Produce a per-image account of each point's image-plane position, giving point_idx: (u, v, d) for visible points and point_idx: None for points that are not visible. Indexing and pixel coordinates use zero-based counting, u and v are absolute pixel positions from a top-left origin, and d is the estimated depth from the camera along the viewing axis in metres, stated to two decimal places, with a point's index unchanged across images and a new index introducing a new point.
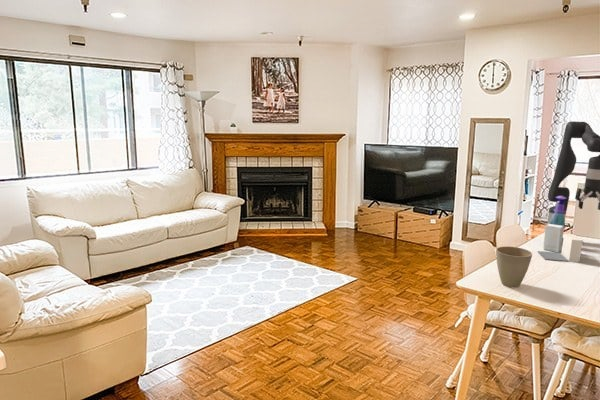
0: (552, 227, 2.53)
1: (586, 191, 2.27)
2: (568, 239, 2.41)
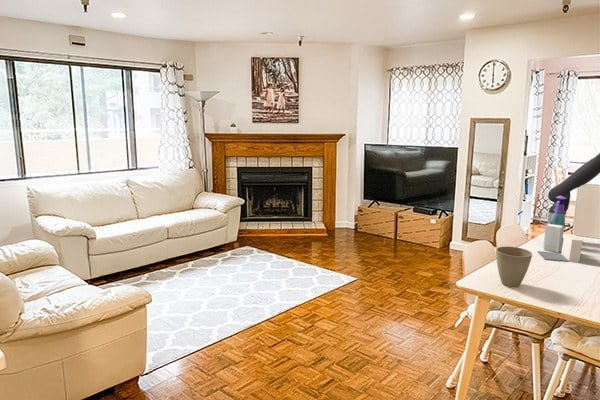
0: (552, 227, 2.53)
1: None
2: (568, 239, 2.41)
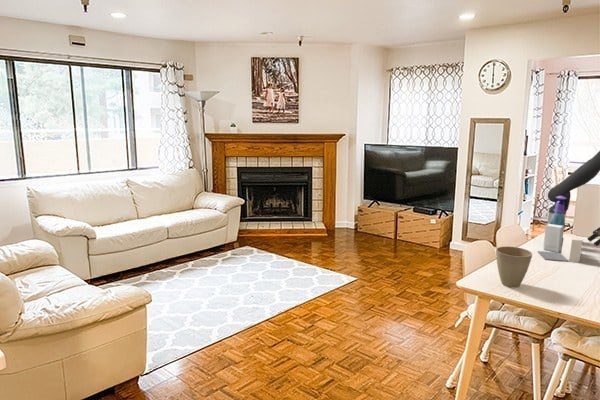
0: (552, 227, 2.53)
1: None
2: (568, 239, 2.41)
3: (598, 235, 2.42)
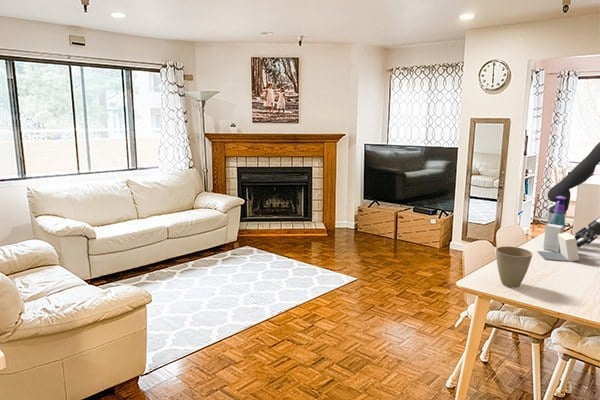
0: (552, 227, 2.53)
1: None
2: (562, 239, 2.42)
3: (580, 236, 2.44)
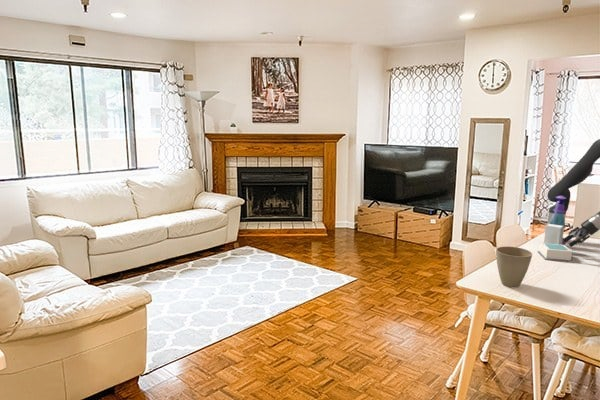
0: (552, 227, 2.53)
1: None
2: None
3: (573, 236, 2.45)
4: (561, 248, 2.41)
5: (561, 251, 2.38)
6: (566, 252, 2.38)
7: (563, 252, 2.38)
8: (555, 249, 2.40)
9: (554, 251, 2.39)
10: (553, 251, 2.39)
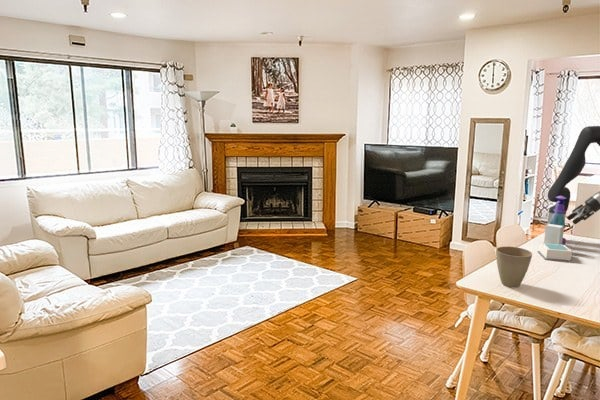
0: (552, 227, 2.53)
1: None
2: None
3: (577, 214, 2.42)
4: (561, 248, 2.41)
5: (561, 251, 2.38)
6: (566, 252, 2.38)
7: (563, 252, 2.38)
8: (555, 249, 2.40)
9: (554, 251, 2.39)
10: (553, 251, 2.39)
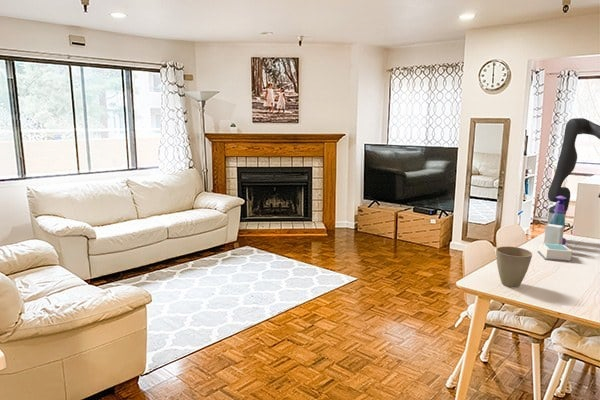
0: (552, 227, 2.53)
1: None
2: None
3: None
4: (561, 248, 2.41)
5: (561, 251, 2.38)
6: (566, 252, 2.38)
7: (563, 252, 2.38)
8: (555, 249, 2.40)
9: (554, 251, 2.39)
10: (553, 251, 2.39)
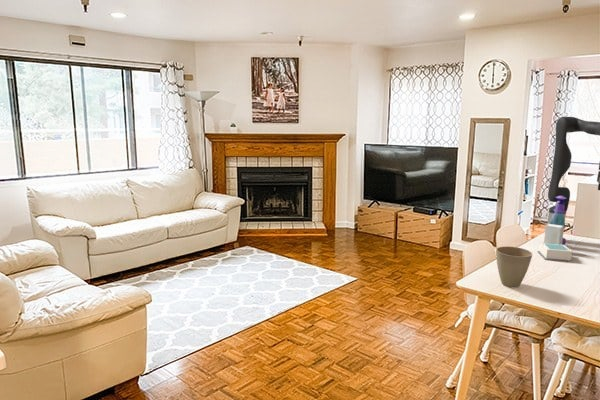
0: (552, 227, 2.53)
1: None
2: None
3: None
4: (561, 248, 2.41)
5: (561, 251, 2.38)
6: (566, 252, 2.38)
7: (563, 252, 2.38)
8: (555, 249, 2.40)
9: (554, 251, 2.39)
10: (553, 251, 2.39)
